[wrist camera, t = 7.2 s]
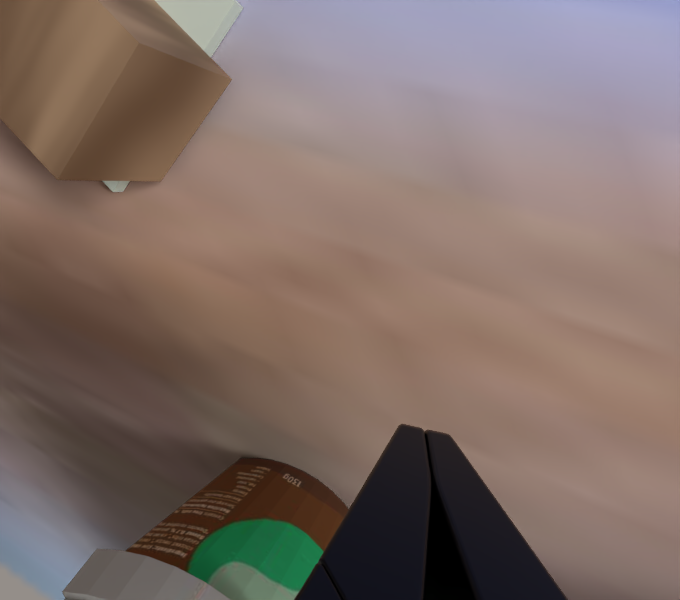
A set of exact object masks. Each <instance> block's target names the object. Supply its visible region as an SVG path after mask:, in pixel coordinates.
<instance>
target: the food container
mask: <svg viewBox="0 0 680 600" xmlns="http://www.w3.org/2000/svg"><path fill="white" fill-rule="evenodd" d="M348 510H349V509H348V508H347V507H346V505H345V504H344V503H343V502H342V501H341V500H340V499H339V498H338V497H337V496H336V495H335V493H334V492H333V491H332V490H330V489H329V488H328V487H326V486H325V485H324V484H323V483H321V482H320V481H319V480H317V479H316V478H314V477H312V476H311V475H309V474H307V473H306V472H304V471H302V470H300V469H297V468H295V467H293V466H290V465H288V464H285V463H281V462H277V461H274V460H268V459H261V458H240V459H239V460H238V461H237V462H235V463H234V464H233V465H232V466H230V467H229V468H228V469H227V470H225V471H224V472H223V473H222V474H220V475H219V476H218V477H217V478H215V479H214V480H213V481H212V482H210V483H209V484H208V485H207V486H205V487H204V488H203V489H202V490H200V491H199V492H198V493H197V494H195V495H194V496H193V497H192V498H191V499H189V500H188V501H187V502H186V503H184V504H183V505H182V506H181V507H179V508H178V509H177V510H176V511H174V512H173V513H172V514H171V515H169V516H168V517H167V518H166V519H164V520H163V521H162V522H161V523H159V524H158V525H157V526H156V527H154V528H153V529H152V530H151V531H149V532H148V533H147V534H146V535H145V536H143V537H142V538H141V539H140V540H138V541H137V542H136V543H135V544H133V545H132V546H131V547H130V548H128V549H127V550H126V551H122V550H110V549H97V550H96V551H95V552H94V553H93V554H92V556H91V557H90V558H89V559H88V561H87V562H86V563H85V564H84V566H83V567H82V568H81V569H80V570H79V572H78V573H77V574H76V575H75V577H74V578H73V579H72V580H71V582H70V583H69V584H68V585H67V586H66V588H65V589H64V590H63V591H62V592H63V595H64V597H65V599H64V600H294V599H295V597H296V596H297V594H298V593H299V591H300V589H301V588H302V586H303V585H304V583H305V582H306V580H307V578H308V577H309V575H310V573H311V571H312V570H313V568H314V566H315V565H316V564H317V563H318V561H319V559H320V557H321V555H322V554H323V552H324V550H325V549H326V547H327V545H328V544H329V542H330V540H331V539H332V537H333V535H334V534H335V532H336V530H337V529H338V527H339V525H340V524H341V522H342V520H343V519H344V517H345V515H346V514H347V512H348Z"/></svg>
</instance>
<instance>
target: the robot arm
mask: <svg viewBox="0 0 680 600" xmlns="http://www.w3.org/2000/svg"><path fill="white" fill-rule="evenodd" d="M294 600H568V599H567V598H566V596H565V595H564V594H563V592H562V591H561V589H560V588H559V587H558V585H557V584H556V582H555V581H554V580H553V578H552V577H551V575H550V574H549V573H548V571H547V570H546V568H545V567H544V566H543V564H542V563H541V561H540V560H539V559H538V557H537V556H536V554H535V553H534V552H533V550H532V549H531V547H530V546H529V545H528V543H527V542H526V540H525V539H524V538H523V536H522V535H521V533H520V532H519V531H518V529H517V528H516V526H515V525H514V524H513V522H512V521H511V519H510V518H509V517H508V515H507V514H506V512H505V511H504V510H503V508H502V507H501V505H500V504H499V503H498V501H497V500H496V498H495V497H494V496H493V494H492V493H491V491H490V490H489V489H488V487H487V486H486V484H485V483H484V482H483V480H482V479H481V477H480V476H479V475H478V473H477V472H476V471H475V469H474V468H473V466H472V465H471V464H470V462H469V461H468V459H467V458H466V457H465V455H464V454H463V452H462V451H461V450H460V448H459V447H458V445H457V444H456V443H455V441H454V440H453V438H452V437H451V436H450V435H448V434H446V433H441V432H437V431H432V430H426V431H425V432H424V430H423V429H422V428H419V427H415V426H410V425H406V424H401V425H399V426H398V428H397V430H396V431H395V433H394V435H393V436H392V438H391V440H390V441H389V443H388V445H387V446H386V448H385V450H384V451H383V453H382V455H381V456H380V458H379V460H378V461H377V463H376V465H375V467H374V468H373V470H372V472H371V473H370V475H369V477H368V478H367V480H366V482H365V483H364V485H363V487H362V488H361V490H360V492H359V493H358V495H357V497H356V498H355V500H354V502H353V503H352V505H351V507H350V508H349V510H348V512H347V514H346V515H345V517H344V519H343V520H342V522H341V524H340V525H339V527H338V529H337V530H336V532H335V534H334V535H333V537H332V539H331V540H330V542H329V544H328V545H327V547H326V549H325V550H324V552H323V554H322V555H321V557H320V559H319V561H318V563H317V564H316V565H315V566H314V568H313V570H312V571H311V573H310V575H309V577H308V578H307V580H306V582H305V583H304V585H303V586H302V588H301V589H300V591H299V593H298V594H297V596H296V597H295V599H294Z"/></svg>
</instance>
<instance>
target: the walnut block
mask: <svg viewBox="0 0 680 600" xmlns="http://www.w3.org/2000/svg"><path fill="white" fill-rule="evenodd" d="M231 80H232V79H231V78H230V77H229V76H228V75H227V74H226V73H225V72H224V71H223V70H222V69H221V68H220V67H219V66H218V65H217V64H216V63H215V62H214V61H213V60H212V59H211V58H210V57H209V56H208V55H207V54H206V53H205V51H204V50H203V49H202V48H201V47H200V46H199V45H198V44H197V43H196V42H195V41H194V40H193V39H192V38H191V37H190V36H189V35H188V34H187V33H186V32H185V31H184V30H183V29H182V28H181V27H180V26H179V25H178V24H177V23H176V22H175V21H174V20H173V19H172V18H171V17H170V16H169V15H168V14H167V13H166V12H165V11H164V10H163V9H162V8H161V6H160V5H159V4H158V3H157V2H156V1H155V0H0V119H1V120H2V121H3V122H4V123H5V124H6V125H7V127H8V128H9V129H10V130H11V131H12V132H13V133H14V134H15V135H16V136H17V137H18V138H19V139H20V140H21V142H22V143H23V144H24V145H25V146H26V147H27V148H28V149H29V150H30V151H31V152H32V153H33V154H34V156H35V157H36V158H37V159H38V160H39V161H40V162H41V163H42V164H43V165H44V166H45V167H46V168H47V169H48V171H49V172H50V173H51V174H52V175H53V176H54V177H55V178H56V179H57V180H89V181H161V180H162V179H163V177H164V176H165V175H166V173H167V172H168V170H169V169H170V167H171V166H172V165H173V163H174V162H175V160H176V159H177V157H178V156H179V155H180V153H181V152H182V150H183V149H184V147H185V146H186V145H187V143H188V142H189V140H190V139H191V137H192V136H193V135H194V133H195V132H196V130H197V129H198V127H199V126H200V125H201V123H202V122H203V120H204V119H205V117H206V116H207V114H208V113H209V112H210V110H211V109H212V107H213V106H214V104H215V103H216V102H217V100H218V99H219V97H220V96H221V94H222V93H223V92H224V90H225V89H226V87H227V86H228V84H229V83H230V82H231Z"/></svg>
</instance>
